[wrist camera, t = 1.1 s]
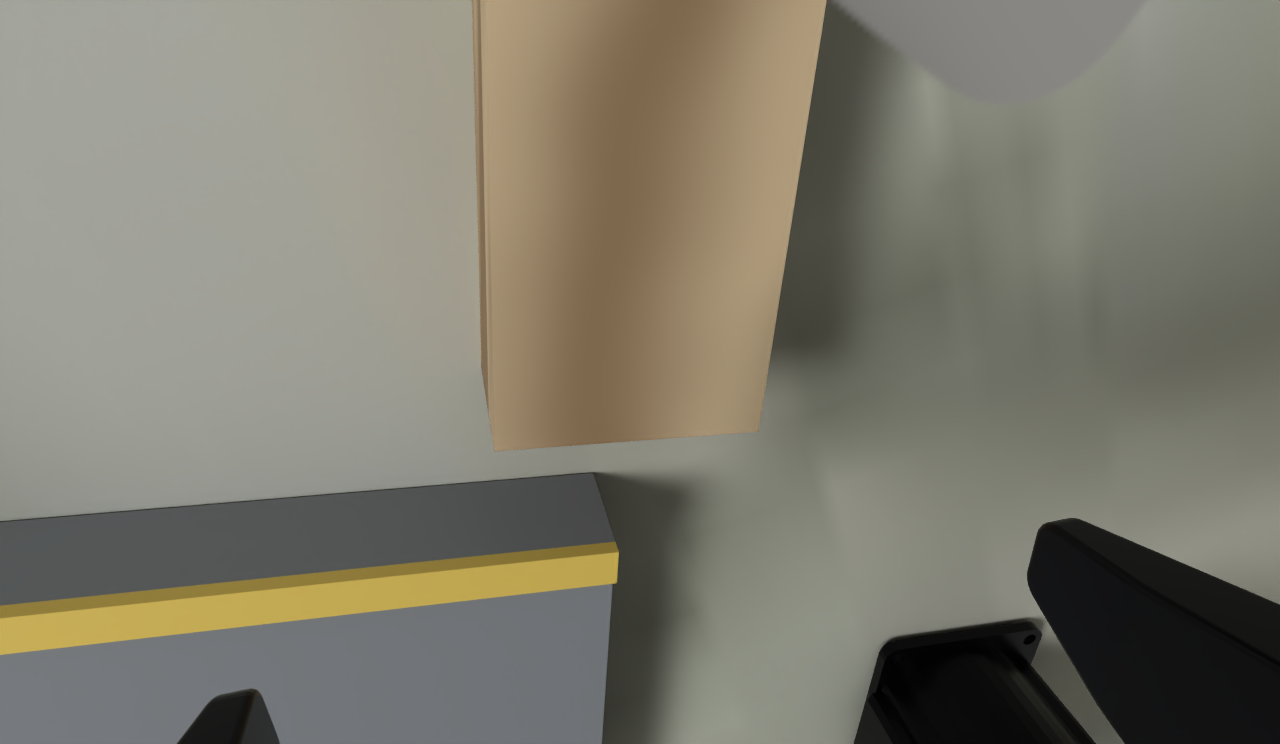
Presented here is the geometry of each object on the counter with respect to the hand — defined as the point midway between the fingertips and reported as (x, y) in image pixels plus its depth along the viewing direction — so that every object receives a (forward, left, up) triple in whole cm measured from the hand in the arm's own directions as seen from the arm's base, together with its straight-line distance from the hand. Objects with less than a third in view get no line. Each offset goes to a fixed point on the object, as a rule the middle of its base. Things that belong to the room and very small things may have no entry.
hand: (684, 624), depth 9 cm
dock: (+6, +13, -12) cm, 19 cm away
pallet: (-2, -2, -12) cm, 13 cm away
